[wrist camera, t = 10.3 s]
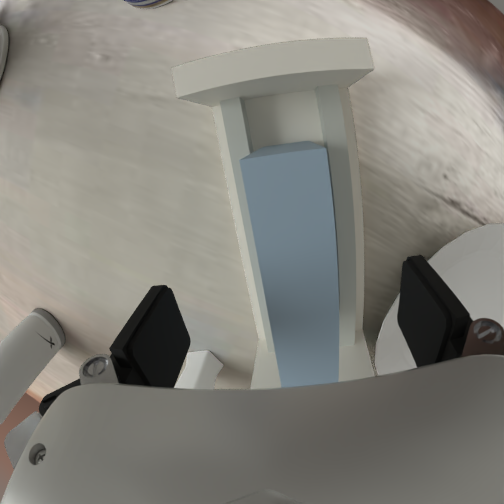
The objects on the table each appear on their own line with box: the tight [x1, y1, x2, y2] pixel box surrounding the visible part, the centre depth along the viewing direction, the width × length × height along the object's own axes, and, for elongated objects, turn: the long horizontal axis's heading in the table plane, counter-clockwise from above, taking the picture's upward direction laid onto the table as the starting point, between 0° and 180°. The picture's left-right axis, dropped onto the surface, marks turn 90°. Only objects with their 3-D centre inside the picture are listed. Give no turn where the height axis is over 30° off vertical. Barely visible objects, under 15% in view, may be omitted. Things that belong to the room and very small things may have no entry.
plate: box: [375, 223, 504, 375], centre depth 21 cm, size 21×21×2 cm
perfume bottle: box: [174, 350, 223, 389], centre depth 21 cm, size 5×4×15 cm
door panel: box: [239, 141, 339, 387], centre depth 16 cm, size 12×3×9 cm, turn 10°
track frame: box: [171, 38, 375, 389], centre depth 17 cm, size 22×9×7 cm, turn 10°
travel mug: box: [0, 309, 65, 424], centre depth 21 cm, size 6×7×20 cm
